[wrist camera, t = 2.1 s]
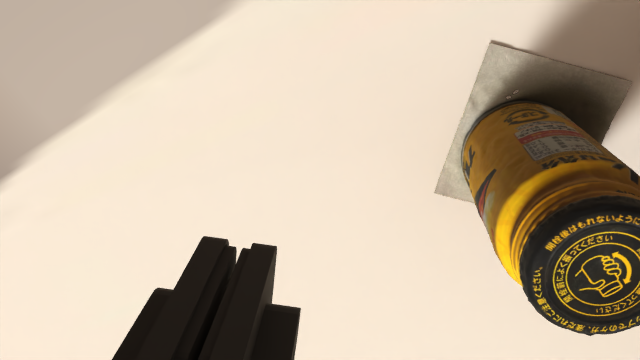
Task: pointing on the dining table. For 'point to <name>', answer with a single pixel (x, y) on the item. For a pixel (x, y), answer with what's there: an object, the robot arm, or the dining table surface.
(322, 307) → the dining table surface
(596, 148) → the condiment
